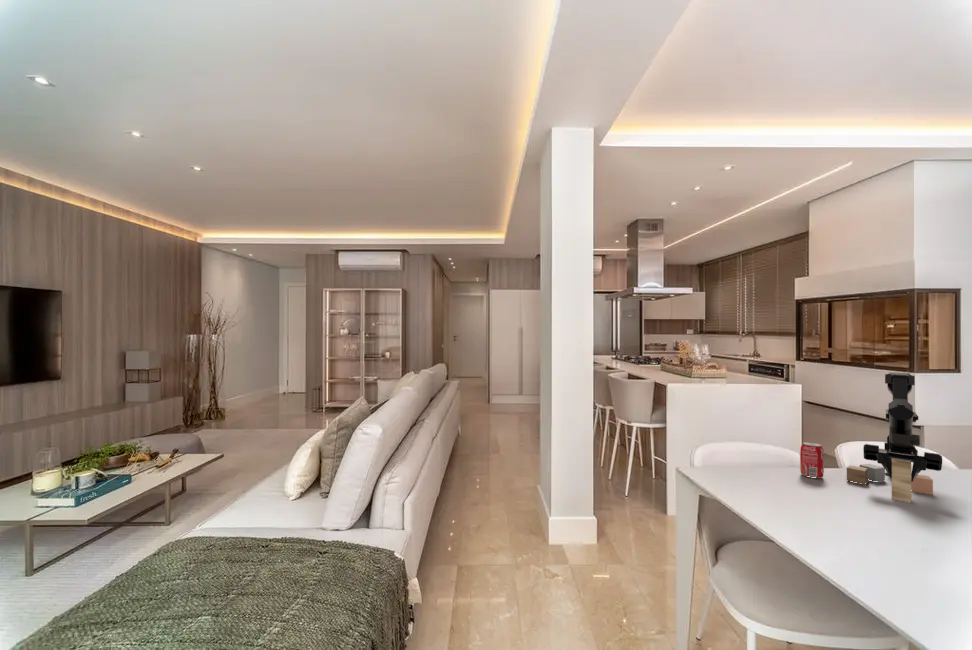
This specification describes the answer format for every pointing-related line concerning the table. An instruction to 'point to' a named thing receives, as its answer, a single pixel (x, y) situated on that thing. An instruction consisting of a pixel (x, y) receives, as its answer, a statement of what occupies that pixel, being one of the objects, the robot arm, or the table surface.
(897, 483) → the tall oak block
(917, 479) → the terracotta block
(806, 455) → the soda can
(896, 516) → the table surface
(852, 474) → the walnut block
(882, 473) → the slate grey block
